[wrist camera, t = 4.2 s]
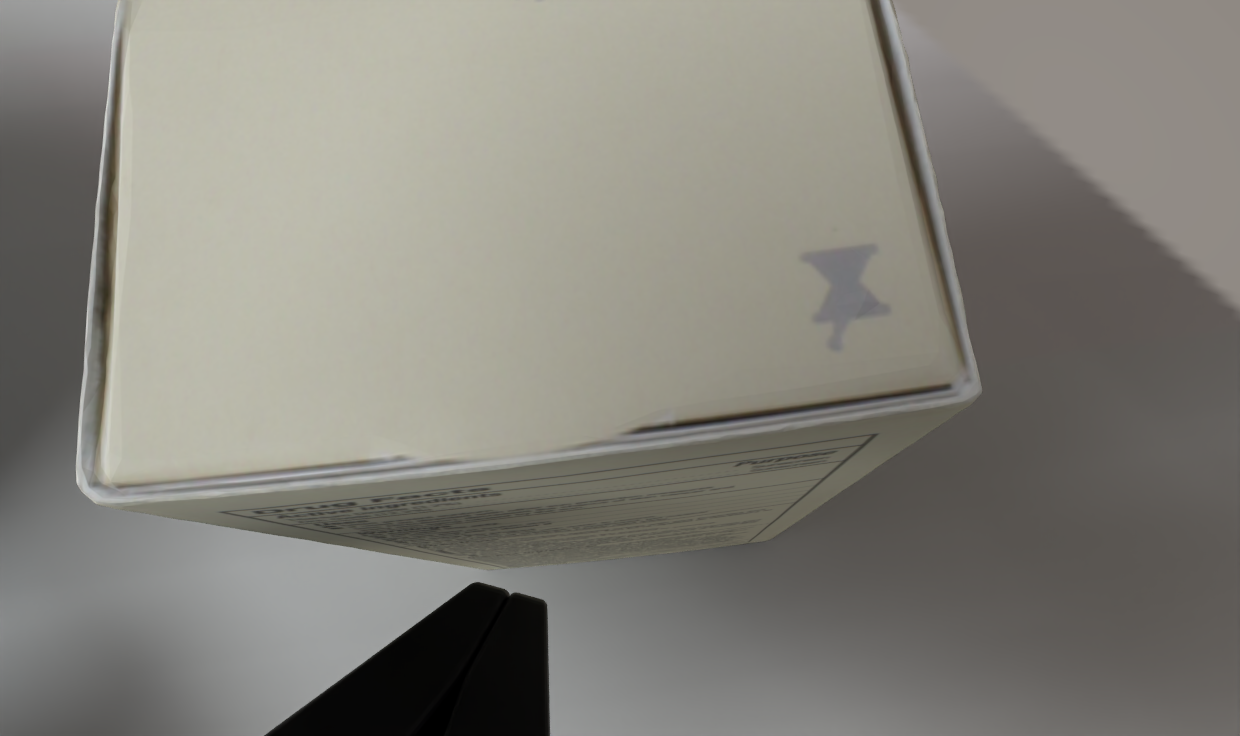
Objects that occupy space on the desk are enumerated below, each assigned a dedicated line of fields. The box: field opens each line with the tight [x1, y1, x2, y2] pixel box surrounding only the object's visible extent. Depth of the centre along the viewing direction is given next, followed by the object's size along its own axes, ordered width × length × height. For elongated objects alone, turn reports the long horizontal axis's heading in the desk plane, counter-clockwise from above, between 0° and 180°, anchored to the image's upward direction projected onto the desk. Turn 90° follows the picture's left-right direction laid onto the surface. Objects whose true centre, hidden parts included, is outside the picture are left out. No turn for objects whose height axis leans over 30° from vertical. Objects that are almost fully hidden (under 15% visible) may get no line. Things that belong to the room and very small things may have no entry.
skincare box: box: [76, 0, 982, 570], centre depth 12 cm, size 6×4×12 cm
